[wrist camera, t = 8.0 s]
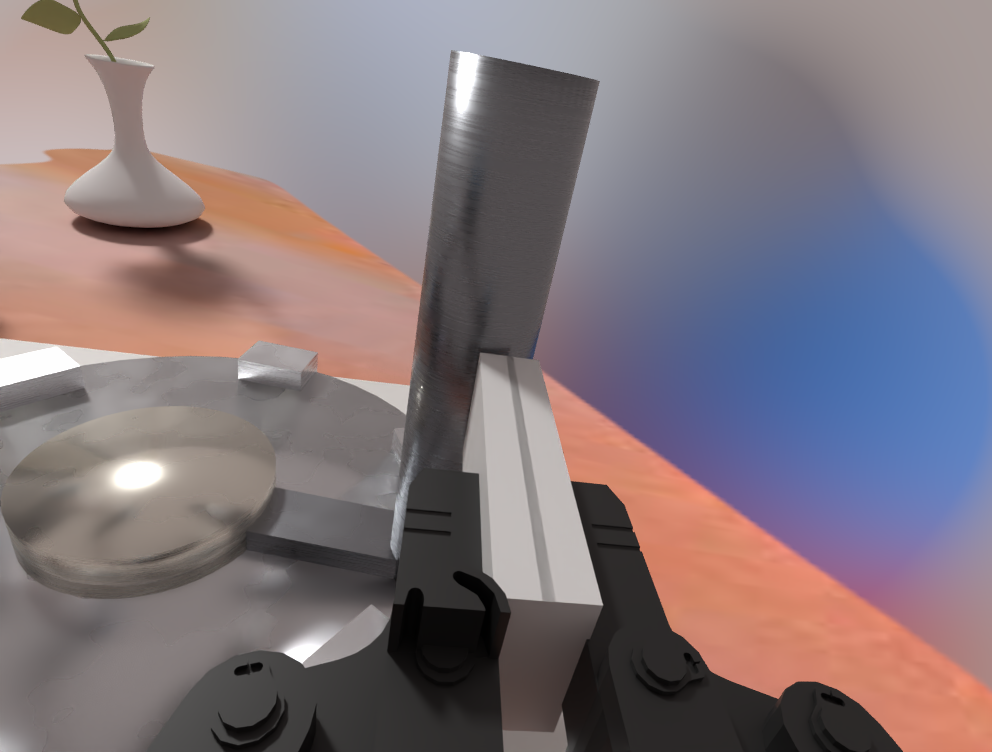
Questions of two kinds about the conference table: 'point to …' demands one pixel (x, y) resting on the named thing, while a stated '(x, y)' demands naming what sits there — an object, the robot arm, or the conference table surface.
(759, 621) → the conference table surface
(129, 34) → the flower in vase
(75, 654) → the round disc with peg
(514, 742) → the base plate
